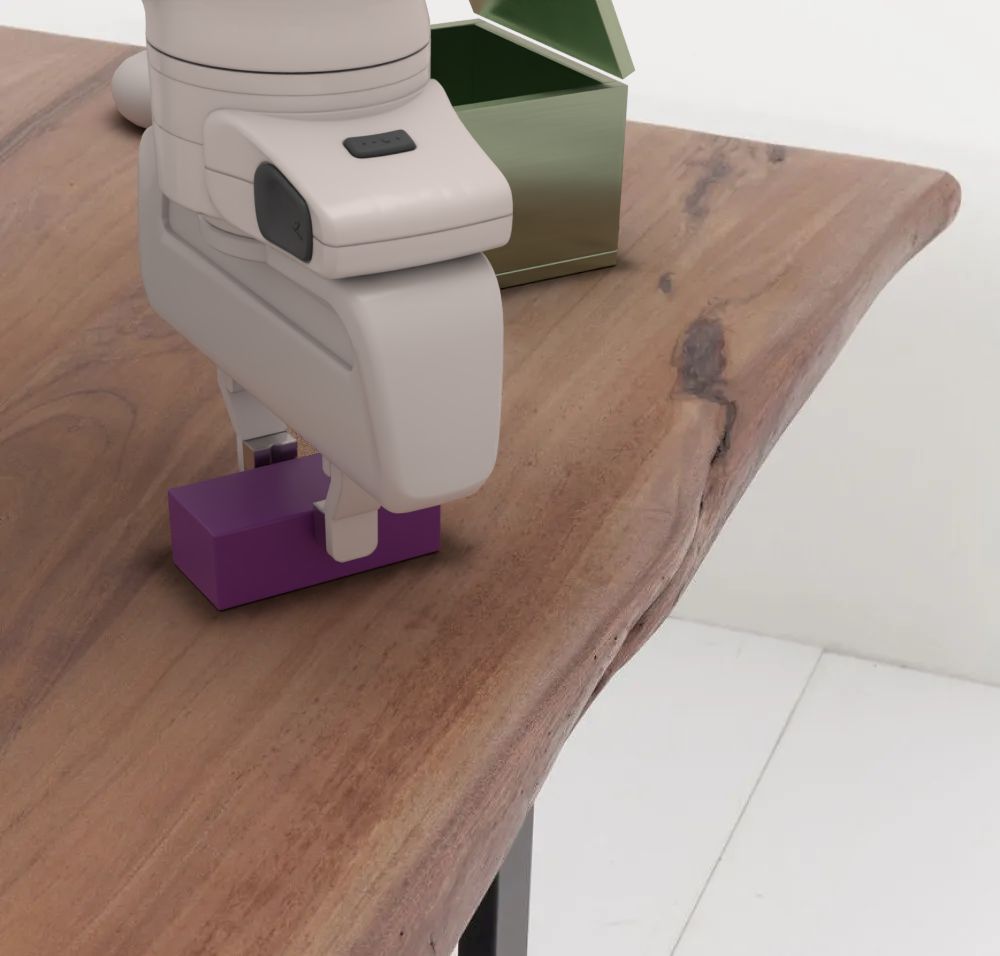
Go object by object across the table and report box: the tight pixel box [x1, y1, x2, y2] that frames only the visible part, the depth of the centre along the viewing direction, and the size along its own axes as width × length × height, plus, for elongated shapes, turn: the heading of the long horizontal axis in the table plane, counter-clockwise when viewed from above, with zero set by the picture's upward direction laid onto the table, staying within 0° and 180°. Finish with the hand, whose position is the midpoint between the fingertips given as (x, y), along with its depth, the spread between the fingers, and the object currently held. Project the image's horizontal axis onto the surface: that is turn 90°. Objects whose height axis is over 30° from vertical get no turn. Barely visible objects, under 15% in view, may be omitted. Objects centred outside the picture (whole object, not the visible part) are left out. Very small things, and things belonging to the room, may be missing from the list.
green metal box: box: [430, 17, 629, 290], centre depth 93 cm, size 16×14×9 cm
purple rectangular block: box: [166, 452, 442, 611], centre depth 68 cm, size 9×4×3 cm, turn 122°
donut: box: [110, 49, 152, 130], centre depth 111 cm, size 10×4×10 cm
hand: (306, 514), depth 68 cm, fingers open, 5 cm apart
